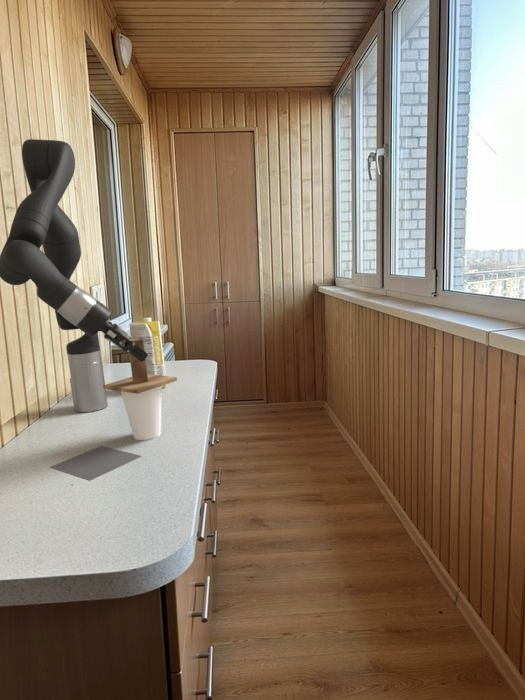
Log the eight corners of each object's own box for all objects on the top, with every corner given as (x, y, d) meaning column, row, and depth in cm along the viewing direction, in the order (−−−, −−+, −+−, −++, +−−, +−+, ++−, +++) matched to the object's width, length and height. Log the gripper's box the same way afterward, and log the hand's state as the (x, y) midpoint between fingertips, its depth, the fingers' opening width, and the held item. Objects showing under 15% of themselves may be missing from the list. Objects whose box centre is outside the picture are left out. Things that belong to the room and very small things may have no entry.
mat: (49, 468, 101) (49, 467, 101) (101, 447, 112) (101, 445, 112) (90, 482, 93) (89, 480, 93) (142, 457, 104) (141, 455, 104)
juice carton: (170, 386, 164) (162, 316, 159) (153, 393, 157) (145, 319, 153) (150, 384, 169) (142, 316, 164) (133, 390, 162) (124, 319, 158)
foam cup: (157, 444, 111) (150, 389, 109) (120, 444, 113) (113, 390, 111) (173, 429, 120) (167, 379, 118) (138, 429, 122) (132, 380, 120)
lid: (103, 388, 113) (97, 343, 111) (143, 376, 122) (138, 334, 120) (137, 393, 106) (131, 345, 104) (177, 380, 115) (172, 336, 113)
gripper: (96, 300, 101) (157, 347, 107) (95, 297, 115) (150, 339, 120) (73, 328, 101) (136, 373, 106) (74, 322, 114) (130, 362, 120)
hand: (143, 355), depth 113 cm, fingers open, 8 cm apart
